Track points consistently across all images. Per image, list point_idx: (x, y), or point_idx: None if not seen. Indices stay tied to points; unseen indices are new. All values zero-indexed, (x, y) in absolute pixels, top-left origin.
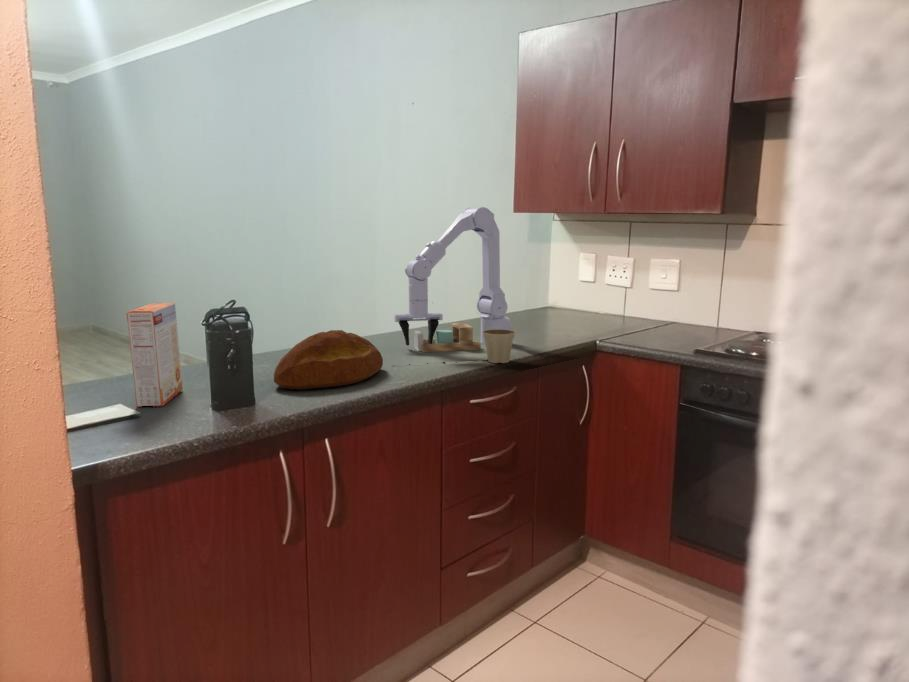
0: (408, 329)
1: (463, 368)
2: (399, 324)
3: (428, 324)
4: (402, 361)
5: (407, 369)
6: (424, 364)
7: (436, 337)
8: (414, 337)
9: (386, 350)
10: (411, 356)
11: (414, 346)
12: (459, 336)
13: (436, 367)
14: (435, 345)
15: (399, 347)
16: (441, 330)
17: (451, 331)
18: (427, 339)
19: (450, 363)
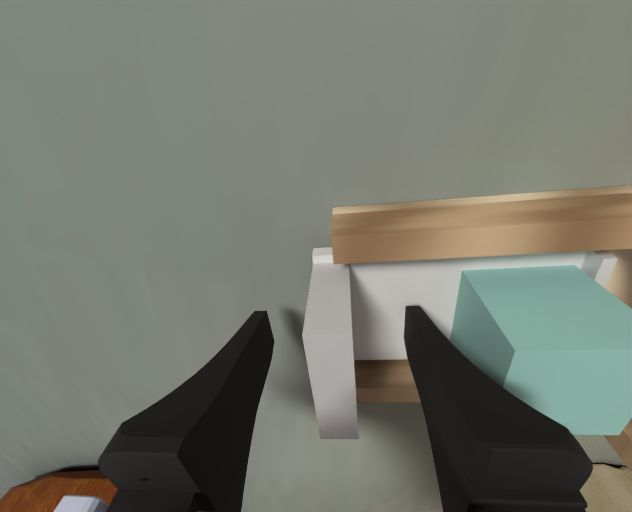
0: (244, 462)
1: (429, 507)
2: (132, 424)
3: (456, 429)
4: (256, 426)
5: (274, 489)
6: (327, 464)
7: (479, 338)
8: (308, 302)
9: (145, 226)
10: (291, 372)
11: (314, 261)
12: (616, 437)
13: (357, 489)
14: (418, 396)
15: (211, 130)
16: (572, 365)
17: (625, 418)
18: (421, 257)
19: (414, 469)
